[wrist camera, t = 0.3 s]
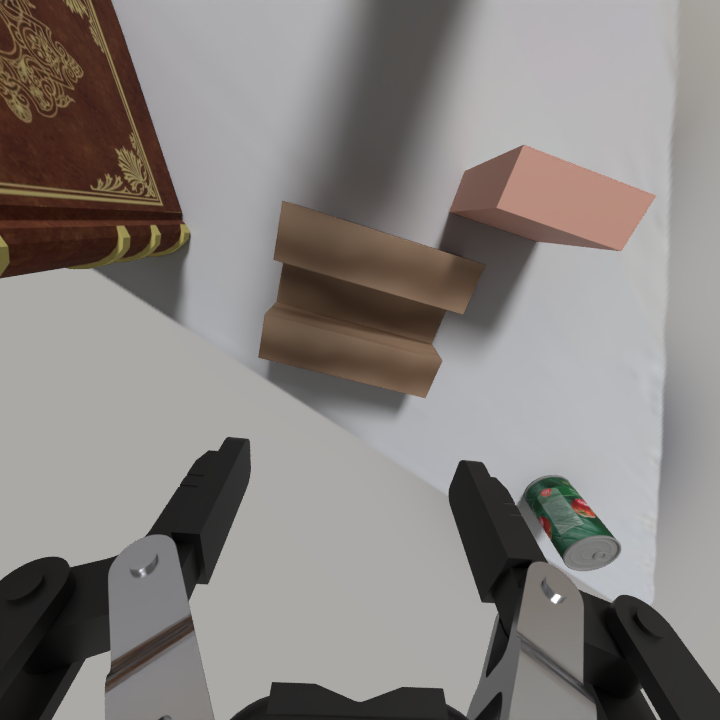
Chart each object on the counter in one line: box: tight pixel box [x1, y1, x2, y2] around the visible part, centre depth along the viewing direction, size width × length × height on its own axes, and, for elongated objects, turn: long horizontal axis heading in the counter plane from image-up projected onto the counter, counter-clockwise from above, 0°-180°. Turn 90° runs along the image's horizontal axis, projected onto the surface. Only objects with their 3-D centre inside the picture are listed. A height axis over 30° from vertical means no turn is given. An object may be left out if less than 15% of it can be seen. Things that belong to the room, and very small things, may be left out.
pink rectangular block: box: [450, 145, 656, 251], centre depth 27 cm, size 4×11×12 cm, turn 74°
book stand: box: [258, 201, 485, 398], centre depth 34 cm, size 16×20×6 cm
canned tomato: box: [524, 475, 621, 571], centre depth 47 cm, size 8×8×11 cm
